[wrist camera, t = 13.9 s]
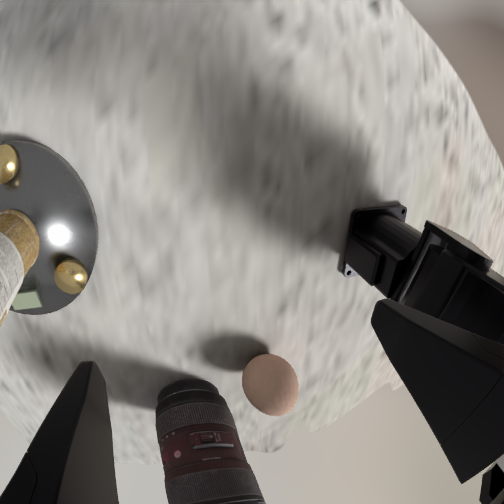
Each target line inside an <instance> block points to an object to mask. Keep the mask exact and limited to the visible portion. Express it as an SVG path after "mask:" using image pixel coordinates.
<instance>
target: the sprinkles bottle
mask: <svg viewBox="0 0 504 504" xmlns="http://www.w3.org/2000/svg"><path fill="white" fill-rule="evenodd" d="M39 244H40V243H39V236H38V233H37V231H36V228H35V226H34V225H33V223H32V222H31V220H30V219H29V218H28V217H27V216H26V215H24V214H23V213H21V212H19V211H16V210H11V209H6V210H4V211H1V212H0V326H1V323H2V321H3V319H4V318H5V316H6V315H7V313H8V311H9V309H10V306H11V304H12V302H13V300H14V298H15V296H16V294H17V292H18V291H19V289H20V287H21V285H22V282H23V278H24V277H25V275H26V274H27V272H28V270H29V268H30V267H31V266H32V265H33V264H34V263H35V261H36V259H37V257H38V253H39Z"/></svg>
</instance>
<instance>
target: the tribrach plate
mask: <svg viewBox="0 0 504 504" xmlns="http://www.w3.org/2000/svg"><path fill="white" fill-rule="evenodd" d="M6 209H11V210H16V211H19V212H21V213H23V214H24V215H26V216H27V217H28V218H29V219H30V220H31V222H32V223H33V225H34V226H35V228H36V231H37V233H38V236H39V243H40V244H39V253H38V257H37V259H36V261H35V263H34V264H33V265H32V266H31V267H30V268H29V270H28V272H27V274H26V275H25V277H24V278H23V282H22V285H21V287H20V289H19V291H18V292H17V294H16V296H15V298H14V300H13V302H12V304H11V306H10V309H9V310H11V311H14V312H18V313H22V314H30V315H40V314H47V313H51V312H54V311H57V310H59V309H61V308H63V307H65V306H67V305H68V304H69V303H71V302H72V301H73V300H74V299H75V298H76V297H77V296H78V295H79V294H80V293H81V292H82V290H83V289H84V288H85V286H86V284H87V282H88V280H89V278H90V275H91V272H92V270H93V266H94V263H95V259H96V255H97V249H98V225H97V218H96V214H95V210H94V206H93V203H92V200H91V198H90V195H89V193H88V191H87V189H86V187H85V185H84V183H83V181H82V180H81V178H80V177H79V175H78V174H77V172H76V171H75V170H74V169H73V168H72V166H71V165H70V164H69V163H68V162H67V161H66V160H65V159H64V158H62V157H61V156H60V155H59V154H58V153H56V152H55V151H53V150H52V149H50V148H48V147H46V146H44V145H42V144H39V143H36V142H32V141H28V140H9V141H5V142H1V143H0V212H1V211H4V210H6Z"/></svg>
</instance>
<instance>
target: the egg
mask: <svg viewBox="0 0 504 504" xmlns="http://www.w3.org/2000/svg"><path fill="white" fill-rule="evenodd" d="M242 386H243V390H244V393H245V395H246V397H247V398H248V400H249V401H250V403H251V404H252V405H253V406H254V407H256V408H257V409H258V410H259V411H261V412H263V413H265V414H267V415H271V416H281V415H284V414H286V413H288V412H289V411H290V410H292V408H293V407H294V405H295V404H296V401H297V398H298V393H299V384H298V380H297V376H296V374H295V371H294V369H293V368H292V367H291V365H290V364H289V363H288V362H287V361H286V360H284V359H283V358H281V357H279V356H276V355H273V354H263V355H259V356H256V357H254V358H253V359H252V360H251V361H249V363H248V364H247V365H246V367H245V369H244V371H243V375H242Z"/></svg>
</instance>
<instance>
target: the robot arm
mask: <svg viewBox="0 0 504 504" xmlns="http://www.w3.org/2000/svg"><path fill="white" fill-rule="evenodd" d="M406 212H407V208H406V207H405V206H403V205H398V206H385V207H374V208H362V209H355V210H354V211H353V212H352V214H351V220H350V227H349V234H348V241H347V247H346V253H345V259H344V265H343V270H342V274H343V275H344V276H345V277H352V276H356V275H360V276H361V277H362V278H363V279H364V280H365V281H366V282H367V283H368V284H370V285H371V286H373V285H374V286H375V287H376V288H377V289H378V290H379V291H380V292H381V293H382V294H383V295H384V296H385V297H386V298H388V299H382V300H379V301H377V303H376V304H375V307H374V311H373V314H372V317H371V325H372V327H373V329H374V331H375V333H376V335H377V337H378V339H379V341H380V342H381V344H382V346H383V348H384V350H385V352H386V354H387V356H388V358H389V360H390V362H391V363H392V365H393V366H394V368H395V370H396V371H397V373H398V374H399V376H400V378H401V379H402V381H403V382H404V384H405V386H406V387H407V389H408V391H409V392H410V393H411V395H412V397H413V399H414V401H415V402H416V404H417V406H418V407H419V409H420V410H421V412H422V414H423V416H424V417H425V419H426V421H427V422H428V424H429V426H430V428H431V429H432V431H433V433H434V435H435V436H436V438H437V440H438V442H439V444H441V445H440V446H441V447H442V449H443V451H444V453H445V455H446V456H447V459H448V460H449V462H450V464H451V466H452V468H453V470H454V471H455V473H456V475H457V477H458V479H459V481H460V482H461V484H463V483H464V482H466V481H467V480H469V479H471V478H472V477H473V476H475V475H476V474H478V473H479V472H481V471H482V470H484V469H485V468H486V467H488V466H489V465H490V464H492V463H493V462H494V461H495V462H494V463H493V465H492V466H491V467H490V468H489V469H488V470H487V471H486V472H485V473H484V474H483V477H482V486H481V494H480V500H479V501H480V502H481V503H482V504H504V277H502V276H501V275H500V274H498V273H497V272H495V271H494V270H492V269H491V268H490V267H491V265H492V263H493V260H492V259H491V258H490V257H489V256H487V255H486V254H485V253H484V252H483V251H482V250H480V249H479V248H478V247H477V246H476V245H475V244H473V243H472V242H470V241H469V240H467V239H465V238H464V237H462V236H460V235H459V234H457V233H455V232H453V231H451V230H449V229H447V228H444V227H442V226H440V225H437V224H435V223H433V222H430V221H428V220H426V223H425V225H424V227H425V228H424V230H423V233H421V232H420V231H418V230H416V229H415V228H413V227H412V226H410V225H408V224H407V223H405V217H406ZM357 214H358V216H357ZM356 216H357V217H356ZM389 298H390V299H389ZM27 452H28V453H27ZM27 452H26V453H25V455H24V457H23V459H22V460H21V462H20V464H19V466H18V468H17V470H16V471H15V473H14V475H13V477H12V478H11V480H10V482H9V483H8V485H7V487H6V488H5V490H4V491H3V493H2V495H1V496H0V504H119V501H118V494H117V486H116V478H115V468H114V456H113V441H112V428H111V421H110V415H109V407H108V400H107V391H106V383H105V380H104V377H103V376H102V374H101V372H100V370H99V368H98V366H97V364H96V363H95V362H94V361H82V362H81V363H80V364H79V365H78V367H77V368H76V370H75V371H74V373H73V374H72V376H71V377H70V379H69V380H68V382H67V383H66V385H65V387H64V388H63V390H62V391H61V393H60V395H59V396H58V398H57V399H56V401H55V403H54V404H53V406H52V408H51V409H50V411H49V413H48V414H47V416H46V418H45V419H44V421H43V423H42V424H41V426H40V428H39V430H38V431H37V433H36V435H35V437H34V438H33V440H32V442H31V444H30V446H29V448H28V450H27Z"/></svg>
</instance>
